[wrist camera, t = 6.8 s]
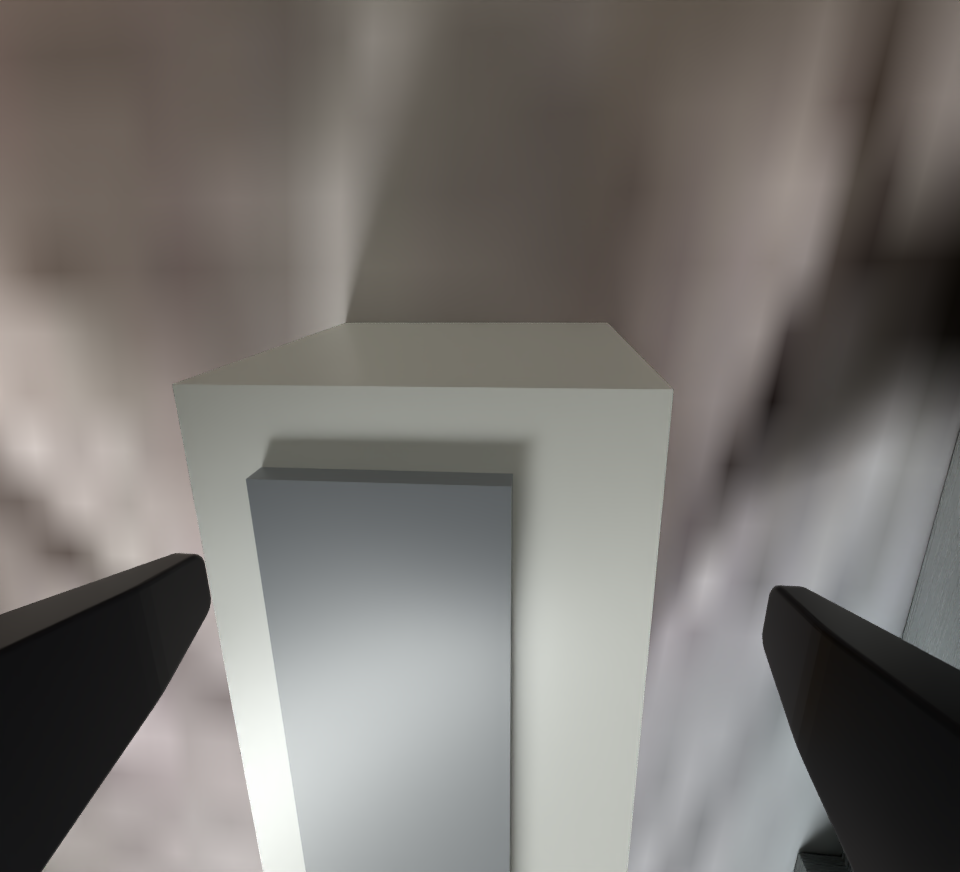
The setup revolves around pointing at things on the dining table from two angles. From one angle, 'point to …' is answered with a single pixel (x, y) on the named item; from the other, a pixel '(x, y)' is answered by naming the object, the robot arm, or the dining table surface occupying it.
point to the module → (434, 589)
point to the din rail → (926, 613)
